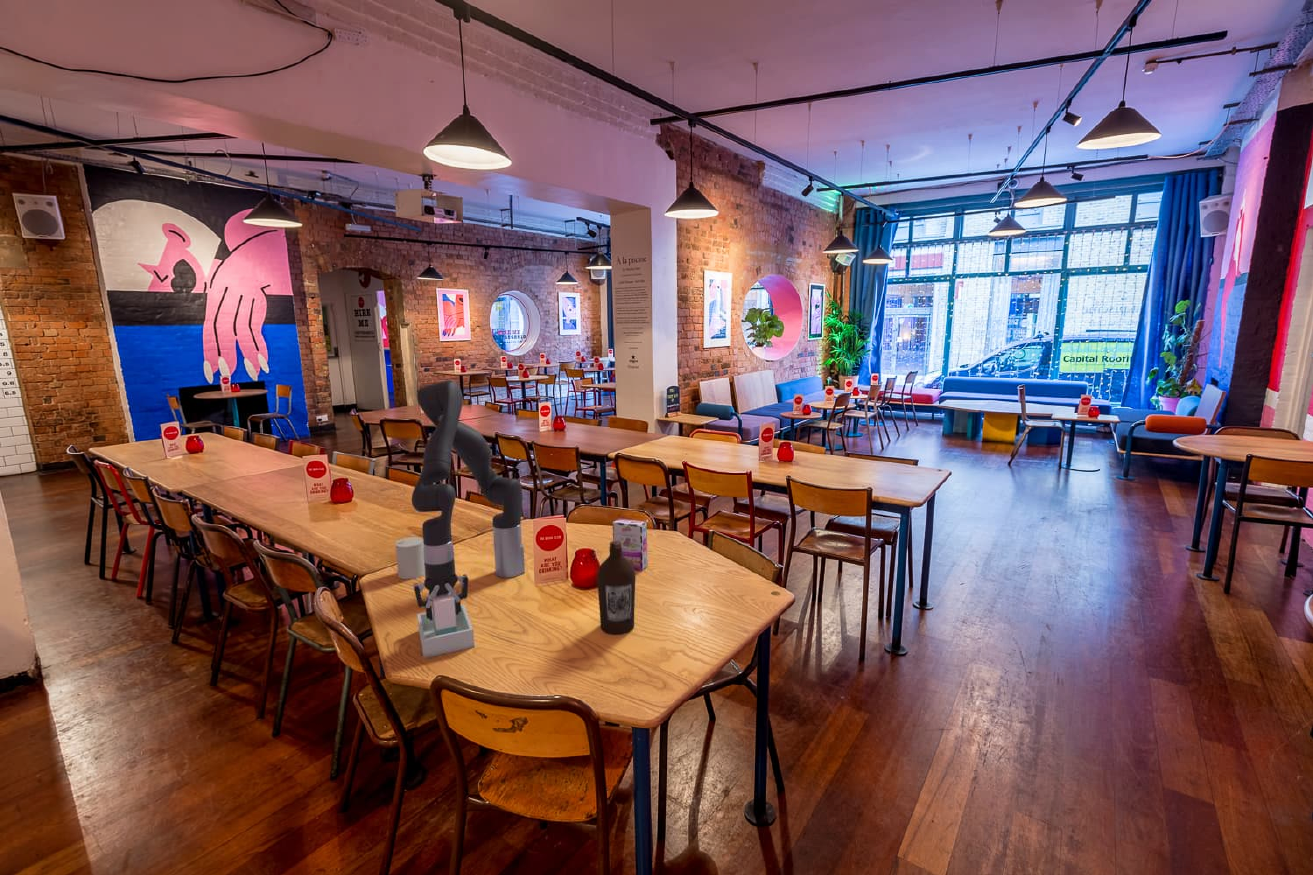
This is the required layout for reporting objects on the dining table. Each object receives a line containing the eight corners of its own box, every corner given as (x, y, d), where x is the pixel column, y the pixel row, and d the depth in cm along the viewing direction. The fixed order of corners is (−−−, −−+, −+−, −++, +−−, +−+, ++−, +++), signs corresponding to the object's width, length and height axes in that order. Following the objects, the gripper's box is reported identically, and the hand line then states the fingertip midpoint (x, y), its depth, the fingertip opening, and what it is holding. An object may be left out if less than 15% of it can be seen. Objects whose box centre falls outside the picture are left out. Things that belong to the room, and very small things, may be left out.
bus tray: (465, 620, 172) (464, 604, 171) (474, 646, 158) (473, 629, 157) (418, 630, 167) (417, 614, 166) (423, 658, 153) (422, 640, 152)
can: (397, 570, 207) (394, 537, 205) (426, 566, 210) (423, 534, 208) (397, 581, 199) (394, 547, 196) (427, 576, 202) (424, 542, 200)
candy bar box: (648, 566, 209) (647, 521, 206) (642, 571, 205) (641, 525, 202) (619, 561, 213) (618, 517, 210) (613, 566, 209) (612, 522, 206)
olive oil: (596, 620, 172) (593, 537, 167) (632, 615, 174) (631, 534, 169) (601, 638, 162) (598, 551, 157) (639, 634, 164) (638, 547, 159)
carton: (453, 626, 167) (450, 586, 165) (457, 640, 160) (454, 598, 157) (434, 630, 165) (430, 590, 162) (437, 645, 158) (433, 602, 155)
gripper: (465, 548, 164) (469, 604, 168) (408, 557, 158) (414, 616, 161) (469, 557, 158) (473, 616, 161) (410, 567, 152) (416, 628, 155)
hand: (444, 616), depth 161 cm, fingers open, 6 cm apart
